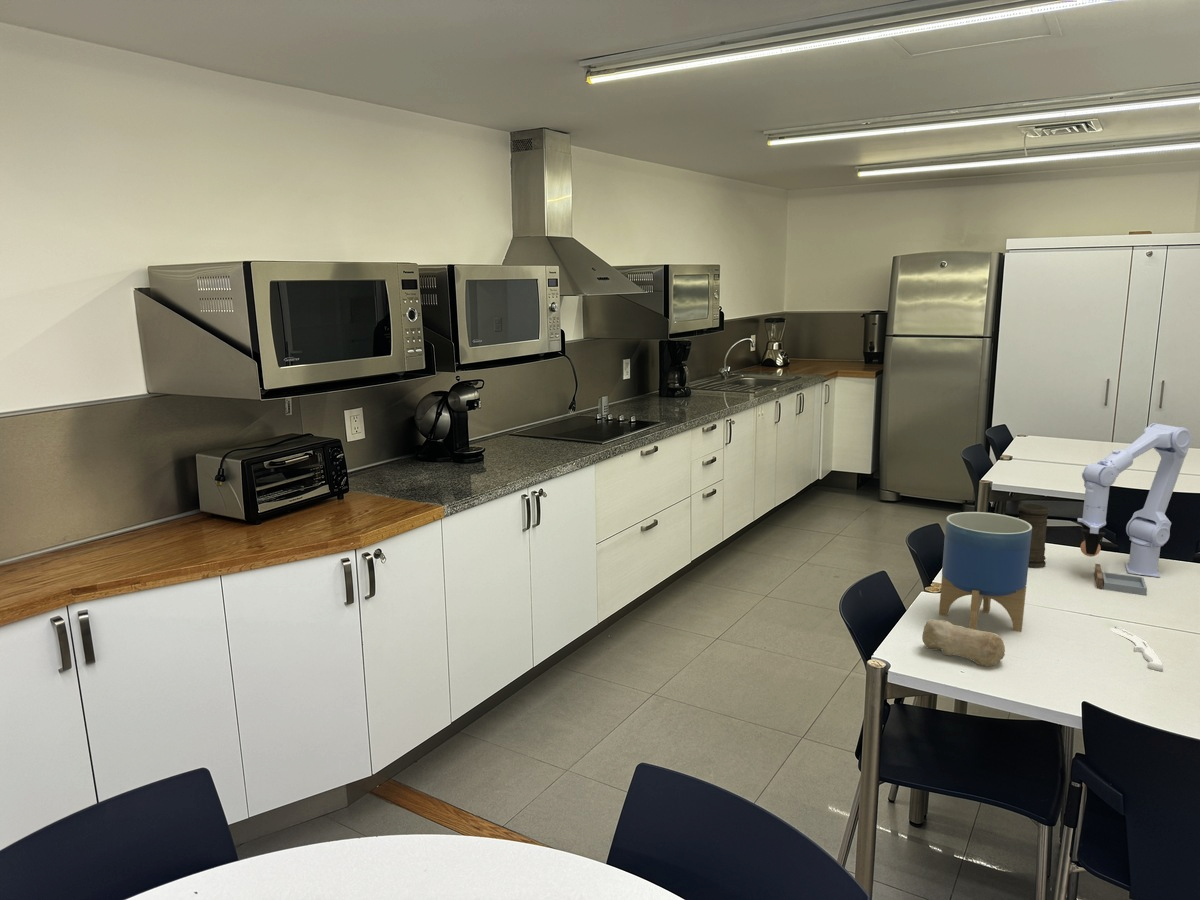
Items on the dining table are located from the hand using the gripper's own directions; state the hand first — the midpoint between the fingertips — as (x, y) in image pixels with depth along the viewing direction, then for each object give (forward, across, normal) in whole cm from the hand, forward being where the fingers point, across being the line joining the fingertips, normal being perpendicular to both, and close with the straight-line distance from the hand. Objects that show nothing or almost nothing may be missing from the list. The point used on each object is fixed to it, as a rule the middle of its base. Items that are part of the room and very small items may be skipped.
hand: (1090, 551), depth 235 cm
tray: (+8, +3, +9) cm, 12 cm away
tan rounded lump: (+8, +72, -27) cm, 78 cm away
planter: (+8, +49, -25) cm, 56 cm away
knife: (+9, +46, +7) cm, 47 cm away
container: (+8, -7, -15) cm, 19 cm away
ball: (+2, 0, 0) cm, 2 cm away
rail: (+8, +1, +3) cm, 9 cm away
